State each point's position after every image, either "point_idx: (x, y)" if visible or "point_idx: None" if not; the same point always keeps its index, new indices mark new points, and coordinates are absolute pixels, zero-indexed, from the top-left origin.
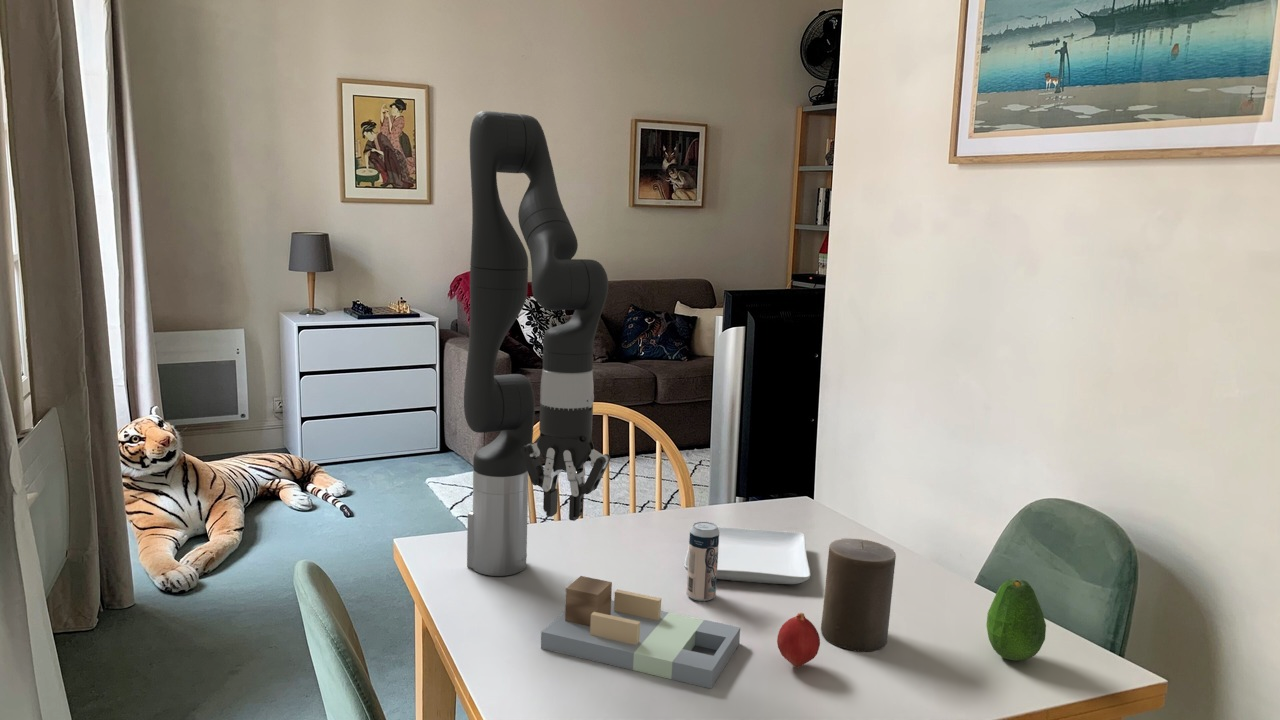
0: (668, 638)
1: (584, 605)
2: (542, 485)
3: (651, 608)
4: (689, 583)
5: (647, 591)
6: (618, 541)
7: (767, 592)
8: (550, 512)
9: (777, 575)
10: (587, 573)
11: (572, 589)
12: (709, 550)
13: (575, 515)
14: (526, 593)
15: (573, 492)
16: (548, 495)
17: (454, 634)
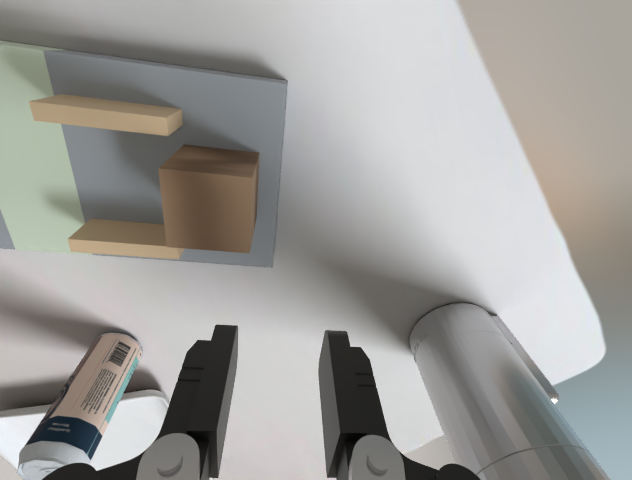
0: (21, 149)
1: (205, 161)
2: (407, 474)
3: (95, 229)
4: (122, 355)
5: (204, 335)
6: (306, 436)
7: (40, 384)
8: (328, 341)
9: (16, 414)
10: (313, 354)
11: (234, 177)
12: (46, 416)
13: (207, 346)
14: (383, 271)
15: (176, 458)
16: (352, 415)
17: (472, 80)
